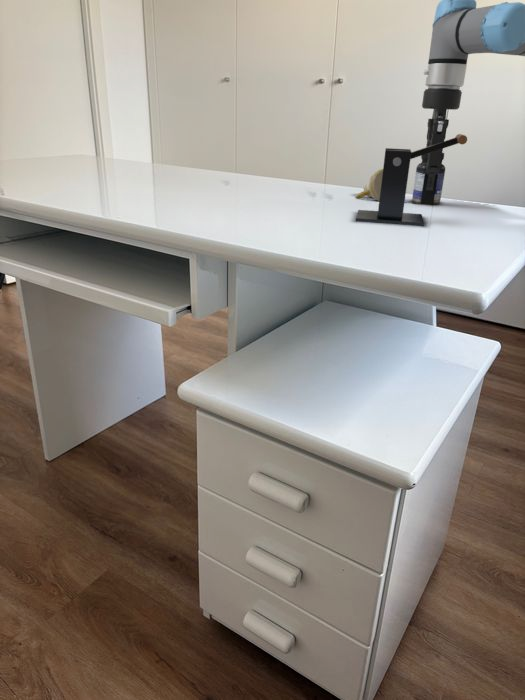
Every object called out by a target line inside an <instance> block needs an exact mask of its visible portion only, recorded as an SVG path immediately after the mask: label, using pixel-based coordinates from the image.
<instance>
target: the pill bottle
mask: <svg viewBox="0 0 525 700" xmlns="http://www.w3.org/2000/svg"><path fill="white" fill-rule="evenodd" d="M420 157H421V158H420V159H421V162H420V163H418V164H417V165H416V168H415V169H416V170H415V176H414V184H413V190H412V198H411V204H412V205H421V204H420V202H421V195H422V189H423V182H424V176H425V174H422V172H423V170H424V171H426V168H427V161H428V154H425V155H422V156H420ZM444 159H445V152H442V158H441V164H440V172H439V173H438V179H437V185H436V191H435V197H434V203H433V205H432V206H437V207H438V206H440V204H441V200H442V199H441V198H442V192H443V186H444V181H445V180H444V179H445V174H446V166H445V165H444V164H443V160H444Z"/></svg>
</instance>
